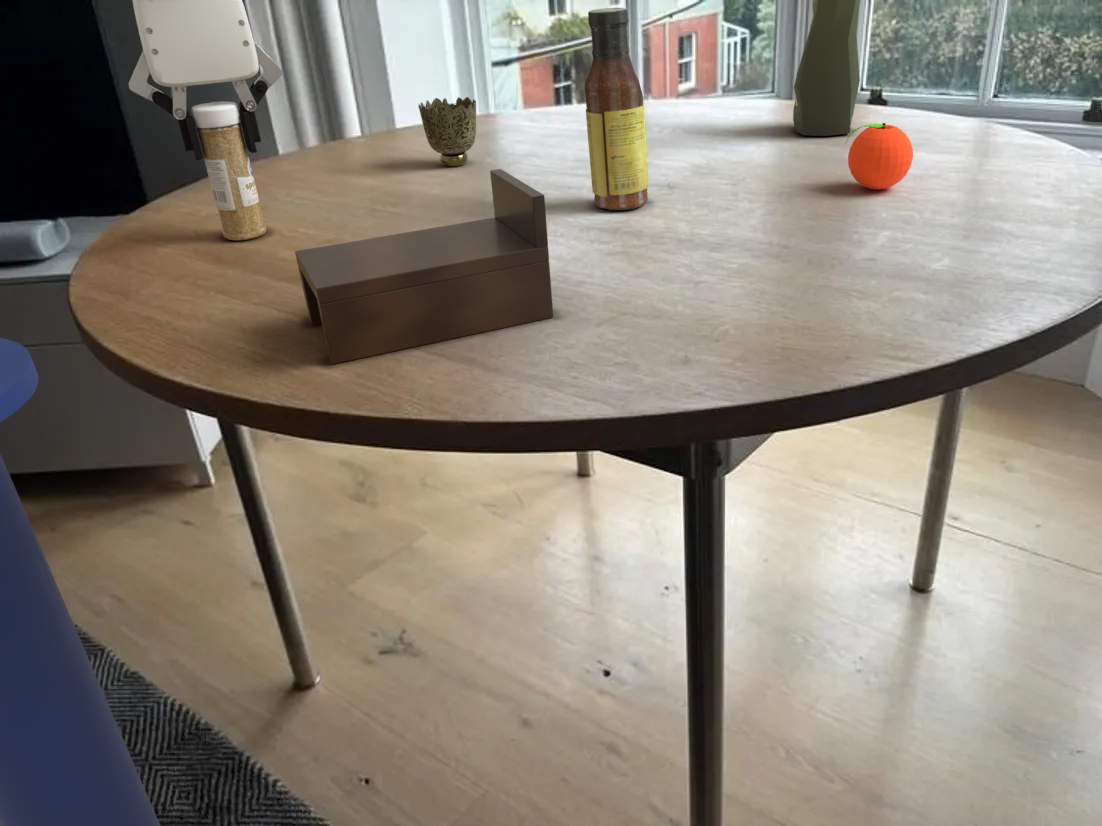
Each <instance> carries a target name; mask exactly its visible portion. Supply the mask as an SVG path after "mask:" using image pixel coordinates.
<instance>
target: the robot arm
mask: <svg viewBox="0 0 1102 826" xmlns="http://www.w3.org/2000/svg"><path fill="white" fill-rule="evenodd" d="M131 1H132V5H133V11H134V16H135V21H136V26H137V29H138V35H139V39H140V43H141V47H142V52H141V55H140V56H139V59H138V61H137V64H136V66H135V68H134V70H133V72H132V74H131V77H130V80H129V81H128V89H129V90H130V91H131V92H133V93H135V94H137V95H138V96H140V97H142V98H144V99H145V100H148V101H151V103H154V104H155V105H157V106H158V107H160V108H161V109H163V110H164V111H166V112H167V113H169V114H170V115H171V116H173V117H174V119H176V120H177V124H178V127H179V130H180V134H181V138H182V141H183V146H184V149H185V152H193V155H194V158H195V161H201V160H202V159H204V154H203V150H202V146H201V142H200V139H199V135H198V132H197V127H195V124H194V120H193V118H192V115H191V114H190V110H189V109H188V108H187V87H191V86H201V85H210V84H219V83H229V82H230V83H231V85H232V87H233V88H234V91H235V93H236V95H237V97H238V99H239V103H238V107H239V111H240V116H241V120H242V121H241V122H240V124H241V129H242V133H243V138H244V141H245V145H246V150H247V152H249V153H251V154H256V153H258V150H257V146H256V143H261V142H262V139H261V135H260V131H259V126H258V121H257V116H256V112H255V110H257V107H258V105H259V103H260V102H261V101H262V99H263V98H264V96H265V95H266V94H267V92H268V90H269V89H270V88H271V87H272V86H273V85H274V84H275V83H276V82H277V81H278V80H279V79H280V78H281V77H282V75H283V69H282V68H281V67H280V66H279V65H278V64H277V62H275V61H274V60H273V59H272V57H270V56H269V55H268V54H267V53H266V51H264V50H263V48H261V47H260V46H259V44H257V42H255V41H254V36H253V32H252V28H251V25H250V22H249V18H248V15H247V12H246V8H245V5H244V2H243V0H131ZM259 66H261V67H262V68H261V69H262V73H260V75H259V77H257V78H256V79H255V80H254V81H253V82H252V84H251V85H250V87H249V86H248V84H247V81H246V80H248V79H251V78H252V77H255V76H256V75H257V74H258V72H259V69H260V67H259ZM149 76H151V78H152V80H153V81H154V82H155V84H157V85H158V86H159V85H160V86H162V87H166V88H171V89H170V91H171V93H170V95H171V96H169V95H168V94H167V93H165V92H164V91H162V90H160V89H158V88H156V87H154V86H152V85H151V84H149V82H148V79H149Z"/></svg>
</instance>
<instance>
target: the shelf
mask: <svg viewBox="0 0 1102 826" xmlns="http://www.w3.org/2000/svg"><path fill="white" fill-rule="evenodd" d="M489 172H490V173H489V174H490V183H491V193H492V202H493V212H494V213H493V214H494V217H489V218H482V219H478V220H472V221H466V222H461V223H454V224H448V225H442V226H436V227H430V228H425V229H419V230H413V231H407V232H401V233H395V234H389V235H382V236H378V237H371V238H366V239H359V240H355V241H354V240H353V241H348V242H343V243H337V244H330V245H324V246H318V247H312V248H306V249H299V250H295V252H294V254H295V259H296V263H297V267H298V268H297V269H298V272H299V278H300V283H301V286H302V287H301V288H302V290H303V295H304V300H305V304H306V309H307V314H308V319H309V321H310V323H311V325H312V326H315V325H320V324H321V326H322V330H323V334H324V340H325V344H326V349H327V355H328V358H329V361H330V363H331V364H332V365H337V364H340V363H345V362H350V361H355V360H359V359H364V358H368V357H373V356H377V355H383V354H387V353H392V352H397V351H400V350H405V349H411V348H415V347H421V346H425V345H429V344H433V343H434V344H435V343H439V342H444V341H449V340H453V339H457V338H462V337H467V336H471V335H477V334H480V333H485V332H491V331H494V330H500V329H504V328H509V327H513V326H514V327H515V326H519V325H523V324H529V323H533V322H537V321H542V320H546V319H551V318H554V307H553V295H552V293H553V292H552V281H551V280H552V279H551V268H550V267H551V266H550V253H549V239H548V225H547V212H546V202H545V201H546V199H545V194H543V193H541V192H540V191H538V190H537V189H535V188H534V187H531V186H530V185H528V184H527V183H525V182H523V181H522V180H520V179H518V178H517V177H516V176H514V175H512V174H510V173H508V172H507V171H505V170H503V169H501V168H497V169H491V170H490V171H489Z"/></svg>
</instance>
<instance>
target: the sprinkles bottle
mask: <svg viewBox="0 0 1102 826" xmlns="http://www.w3.org/2000/svg"><path fill="white" fill-rule="evenodd" d="M239 108H240V106H239V103H236V102H235V101H212V102H205V103H200V104H195V105H193V106H192V107H191V108H190V113H191V116H192V118H193V120H194V124H195V128H196V132H197V135H198V139H199V143H200V146H201V151H202V155H203V160H204V164H205V169H206V172H207V175H208V180H209V183H210V187H211V191H212V195H213V200H214V202H215V206H216V208H217V210H218V214H219V215H218V216H219V219H220V223H221V226H222V236H223V238H225V239H227V240H230V241H249V240H254V239H256V238H258V237H261V236H263V235H264V234H265V233H266V232H267V225H266V224H265V222H264V218H263V213H262V210H261V205H260V198H259V194H258V190H257V186H256V182H255V178H254V177H255V176H254V174H253V170H252V169H253V168H252V165H251V161H250V157H249V155H248V149H247V147H246V143H245V139H244V135H243V130H242V126H241V121H242V120H241V116H240V111H239V110H240V109H239Z"/></svg>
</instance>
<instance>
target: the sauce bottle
mask: <svg viewBox="0 0 1102 826" xmlns="http://www.w3.org/2000/svg"><path fill="white" fill-rule="evenodd" d="M587 18H588V19H587V20H588V26H589V28H590V33H591V35H590V36H591V46H592V51H591V54H592V61H591V66H590V68H589V71H588V73H587V76H586V77H585V78H586V79H585V82H584V94H585V96H584V97H585V106H586V109H585V117H586V130H587V141H588V144H587V145H588V154H589V165H590V178H591V179H590V180H591V189H592V193H593V195H594V203H595V205H596V207H597V208H599V209H604V210H608V211H628V210H633V209H637V208H640V207H642V206H644V205H646V204H647V203H648V199H649V197H648V194H649V193H648V188H649V170H648V153H647V137H646V136H647V135H646V120H645V118H646V117H645V102H644V101H645V100H644V94H643V90H642V87H641V84H640V80H639V77H638V75H637V74H636V72H635V69H634V65H633V62H632V58H631V56H630V47H629V36H628V24H629V12H628V8H627V7H606V8H596V9H591V10H589V11H588V13H587Z"/></svg>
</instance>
